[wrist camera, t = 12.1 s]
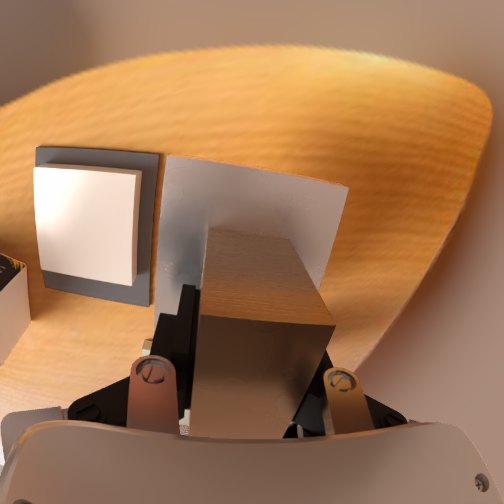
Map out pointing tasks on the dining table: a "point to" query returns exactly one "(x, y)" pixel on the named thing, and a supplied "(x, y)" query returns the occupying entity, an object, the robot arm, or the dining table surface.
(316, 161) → the dining table surface
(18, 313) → the medicine bottle
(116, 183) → the tile
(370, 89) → the dining table surface
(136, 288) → the mat
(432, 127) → the dining table surface
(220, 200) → the float
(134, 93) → the dining table surface
